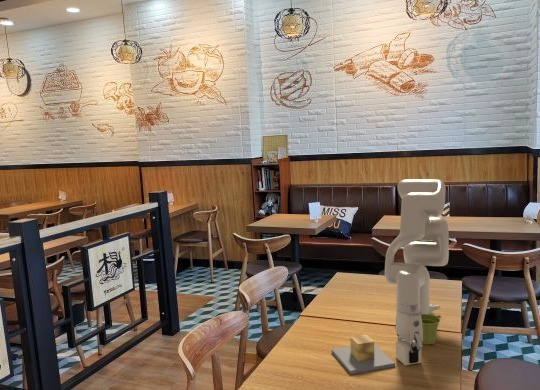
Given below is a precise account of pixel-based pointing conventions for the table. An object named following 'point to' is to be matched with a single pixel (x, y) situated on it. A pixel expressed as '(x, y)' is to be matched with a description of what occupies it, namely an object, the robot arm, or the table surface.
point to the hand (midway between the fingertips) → (408, 357)
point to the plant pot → (429, 328)
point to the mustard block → (362, 347)
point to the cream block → (404, 352)
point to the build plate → (365, 365)
